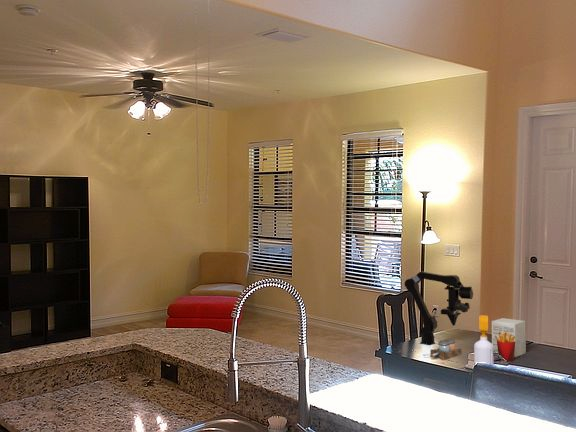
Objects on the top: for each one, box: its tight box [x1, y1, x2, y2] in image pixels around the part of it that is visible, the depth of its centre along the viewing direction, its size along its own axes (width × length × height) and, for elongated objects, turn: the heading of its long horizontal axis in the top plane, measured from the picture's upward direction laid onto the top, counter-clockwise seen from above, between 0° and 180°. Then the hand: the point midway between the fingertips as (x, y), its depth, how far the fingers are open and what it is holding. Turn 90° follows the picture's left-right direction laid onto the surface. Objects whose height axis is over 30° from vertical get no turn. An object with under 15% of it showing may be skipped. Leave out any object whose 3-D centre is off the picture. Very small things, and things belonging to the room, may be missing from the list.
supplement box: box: [491, 317, 527, 358], centre depth 311 cm, size 13×13×18 cm
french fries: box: [495, 331, 515, 362], centre depth 295 cm, size 9×8×15 cm
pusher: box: [432, 348, 446, 358], centre depth 300 cm, size 7×6×4 cm
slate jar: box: [438, 339, 450, 353], centre depth 305 cm, size 6×6×7 cm
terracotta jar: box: [444, 338, 456, 351], centre depth 309 cm, size 6×6×7 cm
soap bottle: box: [473, 314, 495, 364], centre depth 286 cm, size 9×9×25 cm
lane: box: [429, 347, 462, 361], centre depth 307 cm, size 17×9×4 cm, turn 135°
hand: (453, 325), depth 327 cm, fingers closed
